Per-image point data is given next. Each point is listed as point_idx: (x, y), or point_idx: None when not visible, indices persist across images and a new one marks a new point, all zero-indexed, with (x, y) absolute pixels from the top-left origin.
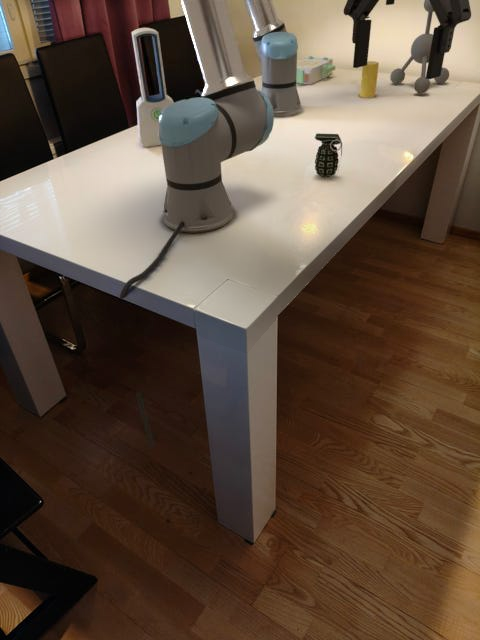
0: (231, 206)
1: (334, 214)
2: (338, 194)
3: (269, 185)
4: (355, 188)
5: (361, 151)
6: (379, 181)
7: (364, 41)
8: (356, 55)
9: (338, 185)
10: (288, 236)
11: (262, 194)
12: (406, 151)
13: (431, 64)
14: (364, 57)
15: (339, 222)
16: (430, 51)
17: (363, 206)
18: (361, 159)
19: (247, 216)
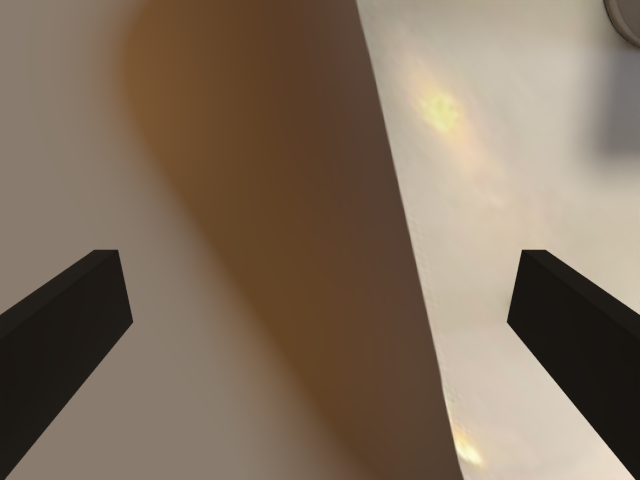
0: (634, 23)
1: (438, 191)
2: (481, 261)
3: (629, 202)
4: (469, 300)
5: (551, 425)
6: (450, 347)
7: (586, 363)
8: (563, 274)
9: (504, 290)
10: (454, 53)
11: (617, 159)
12: (481, 465)
13: (62, 277)
14: (531, 321)
15: (410, 172)
16: (38, 309)
17: (414, 252)
18: (531, 399)
19: (584, 55)
